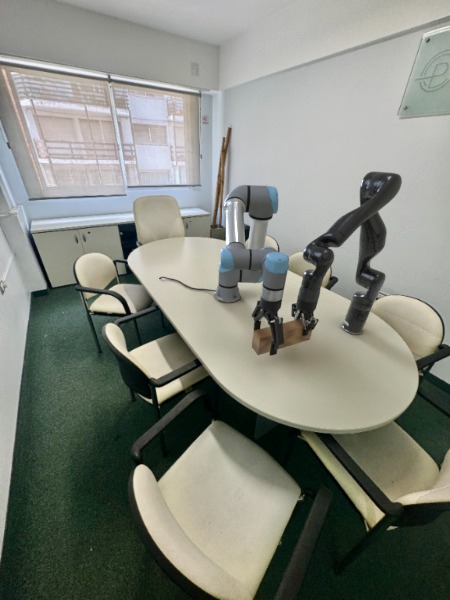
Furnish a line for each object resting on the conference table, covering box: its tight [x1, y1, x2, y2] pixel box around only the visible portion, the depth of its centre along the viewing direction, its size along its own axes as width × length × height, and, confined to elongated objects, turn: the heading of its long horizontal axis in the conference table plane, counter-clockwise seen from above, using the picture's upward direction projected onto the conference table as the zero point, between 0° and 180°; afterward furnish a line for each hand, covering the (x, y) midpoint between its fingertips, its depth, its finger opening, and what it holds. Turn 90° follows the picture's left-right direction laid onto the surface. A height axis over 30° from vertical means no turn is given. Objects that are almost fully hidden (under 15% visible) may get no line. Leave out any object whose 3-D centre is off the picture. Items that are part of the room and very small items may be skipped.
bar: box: [251, 318, 313, 356], centre depth 98 cm, size 26×5×8 cm, turn 113°
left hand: (264, 343), depth 96 cm, fingers open, 12 cm apart
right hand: (299, 331), depth 101 cm, fingers closed on bar, 5 cm apart
